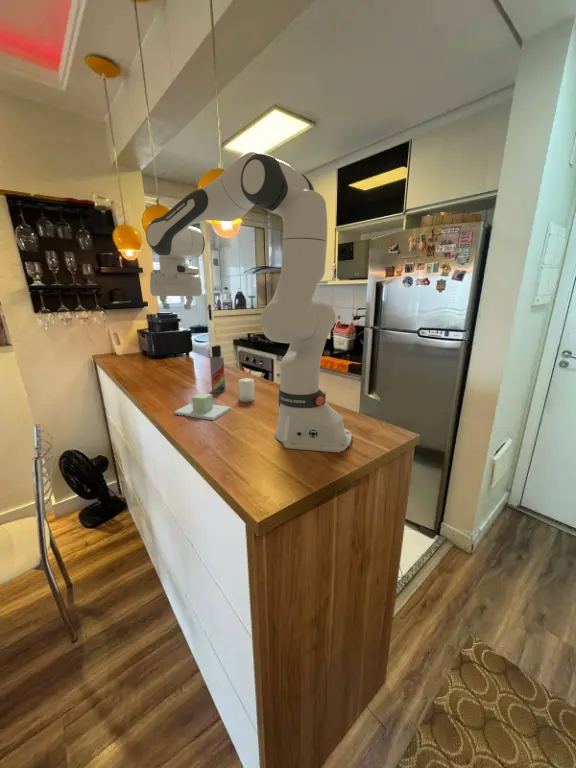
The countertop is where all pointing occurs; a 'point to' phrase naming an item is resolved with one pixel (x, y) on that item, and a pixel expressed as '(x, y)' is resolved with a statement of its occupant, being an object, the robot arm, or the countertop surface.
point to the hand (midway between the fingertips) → (177, 309)
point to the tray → (209, 415)
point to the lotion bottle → (217, 369)
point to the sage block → (202, 402)
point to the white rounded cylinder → (246, 390)
